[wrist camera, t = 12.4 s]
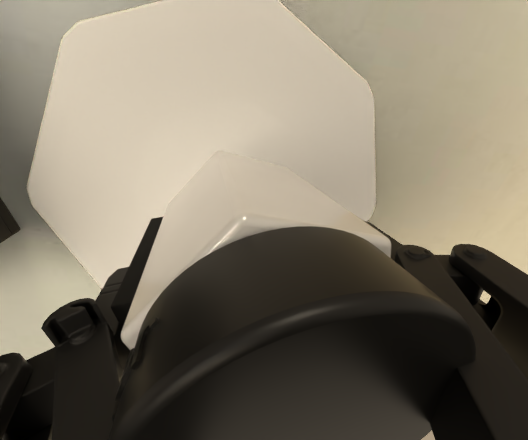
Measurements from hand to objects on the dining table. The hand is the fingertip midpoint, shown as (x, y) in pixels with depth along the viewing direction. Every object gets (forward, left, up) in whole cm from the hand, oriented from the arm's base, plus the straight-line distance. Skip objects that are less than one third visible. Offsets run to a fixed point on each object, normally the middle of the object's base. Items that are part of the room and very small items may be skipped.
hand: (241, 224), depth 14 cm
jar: (0, 0, -2) cm, 2 cm away
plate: (0, 0, -5) cm, 5 cm away
